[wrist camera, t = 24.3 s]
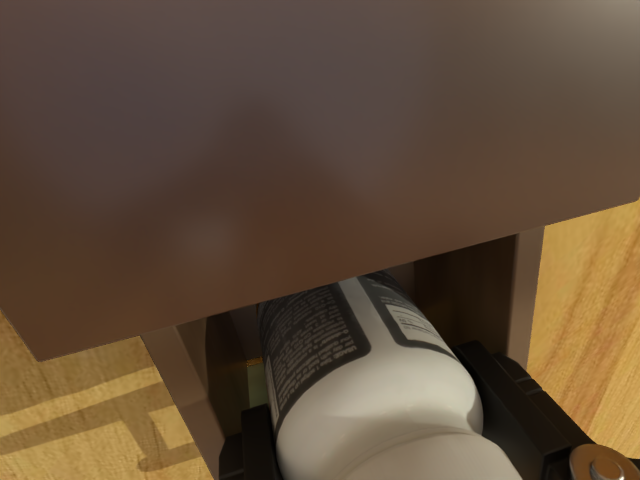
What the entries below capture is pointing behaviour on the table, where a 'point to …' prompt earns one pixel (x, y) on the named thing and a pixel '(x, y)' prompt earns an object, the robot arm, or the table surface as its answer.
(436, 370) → the pill bottle
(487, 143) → the cabinet
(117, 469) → the table surface
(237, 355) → the drawer
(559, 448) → the robot arm
